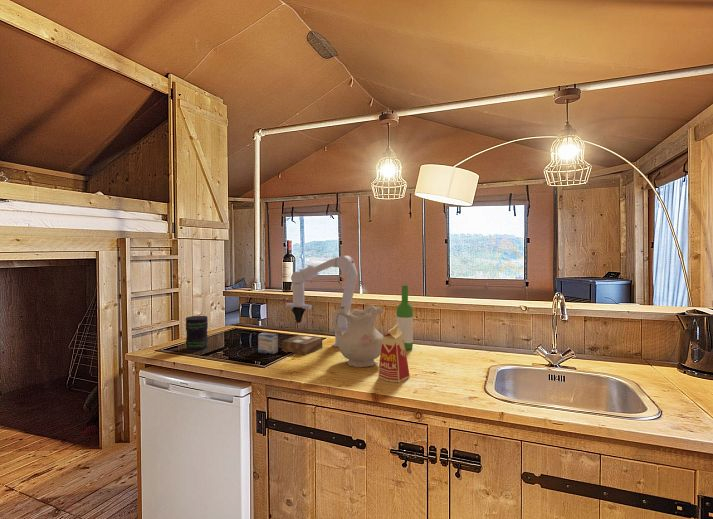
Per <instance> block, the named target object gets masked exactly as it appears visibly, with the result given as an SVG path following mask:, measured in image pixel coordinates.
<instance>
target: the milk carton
mask: <svg viewBox="0 0 713 519" xmlns="http://www.w3.org/2000/svg"><path fill="white" fill-rule="evenodd" d="M406 351H407V350H406V349H405V344H404V339H403V334H402V331H401V330H400V329H399V328H398V324H397V323H396V324H395V325H394V326H393V328H391V329H389V330H388V331H387V333H386V334H385V335H383V341H382V347H381V353H380V356H379V363H378V373H377V374H378V376H377V378H378V379H381V380H384V381H386V382H388V381H390V382H389V383H397V382H398V383H401V382H403V381H405V379H406V380H408V379H410V378H411V376H410V370H409V368H410V367H409V363H408V362H409V361H408V356H407V352H406ZM407 378H408V379H407ZM402 380H403V381H402ZM398 383H397V384H398Z"/></svg>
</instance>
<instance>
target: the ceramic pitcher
mask: <svg viewBox="0 0 713 519" xmlns="http://www.w3.org/2000/svg"><path fill="white" fill-rule="evenodd" d="M344 307H345V306H341V305H340V306H339V305H338V306H337V307H335V308H336V309H335V310H334V311H333V314H332V325H333V328H334V332H335V331H336V333H337V335H338V344H339V347H338V348H339V352H340V354H341V355H342V356H343V357H344V358H345V359H347V360H348V361H347V362H346V365H348V366H350V367H353V368H354V367H355V368H360V369H361V368H364V367H365V368H366V367H373V366H376V365H379V363H378V362H376V361H375V359H378V358H380V353H381V347H382V341H383V336H384V335H383V334H382V333H381V332H380V331H379V330H377V328H376V327H375V324H376V323H375V322H376V319H377V317H378V316H379V315H380V314H382V313H383V307H382V306H379V305H377V306H375V305H372V304H369V305H367V306H366V307H364V308H363V309H357V308H355V309H353V310H352V311H351V312H350V314H348V313H346V311H345V309H344ZM339 315H343V316H344V317H346V319H347V323H348V326H347V329H346V330H345V331H344V332H343V333H342V334H341V331H340V328H339V326H338V316H339Z"/></svg>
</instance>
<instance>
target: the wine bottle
mask: <svg viewBox="0 0 713 519" xmlns="http://www.w3.org/2000/svg"><path fill="white" fill-rule="evenodd" d="M396 324H398V328H399V329H400V330H401V331H402V334H403V339H404V344H405V349H406V351H410V350H411V349H413V346H414V344H413V343H414V342H413V341H414V340H413V339H414V309H413V307H412V305H411V304H410V303H409V286H408V285H401V302H400V303H399V305H397V308H396Z"/></svg>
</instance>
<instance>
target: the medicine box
mask: <svg viewBox="0 0 713 519" xmlns="http://www.w3.org/2000/svg"><path fill="white" fill-rule="evenodd" d="M278 336H279V334H278V333H272V332H261V333H259V334H258V336H257V338H258V342H257V343H258V347H257V348H258V350H257V352H258V353H259V354H267V353H269V355H270V354H271V355H274V354H277V353H278V352H279V349H278V348H279V344H278V343H279V342H278V341H279V338H278Z"/></svg>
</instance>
